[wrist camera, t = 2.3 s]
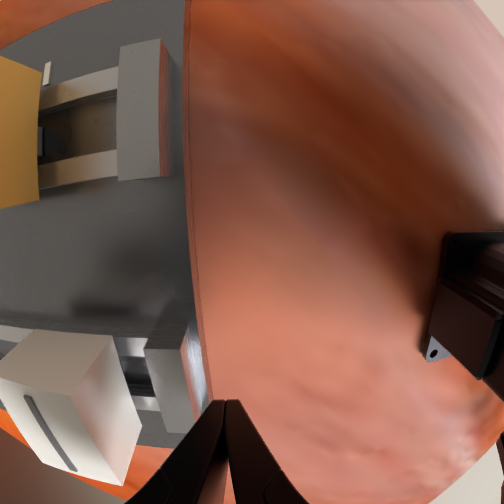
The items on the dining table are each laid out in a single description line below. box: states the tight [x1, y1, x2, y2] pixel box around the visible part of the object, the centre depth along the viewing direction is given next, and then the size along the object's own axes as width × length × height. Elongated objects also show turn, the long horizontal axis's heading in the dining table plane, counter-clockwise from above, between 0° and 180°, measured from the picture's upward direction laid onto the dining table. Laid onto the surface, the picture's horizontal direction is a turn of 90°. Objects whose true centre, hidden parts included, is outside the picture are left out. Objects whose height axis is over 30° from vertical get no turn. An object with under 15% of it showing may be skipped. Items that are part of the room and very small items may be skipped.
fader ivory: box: [0, 329, 142, 486], centre depth 8 cm, size 4×4×5 cm
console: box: [0, 0, 214, 449], centre depth 9 cm, size 17×20×3 cm
